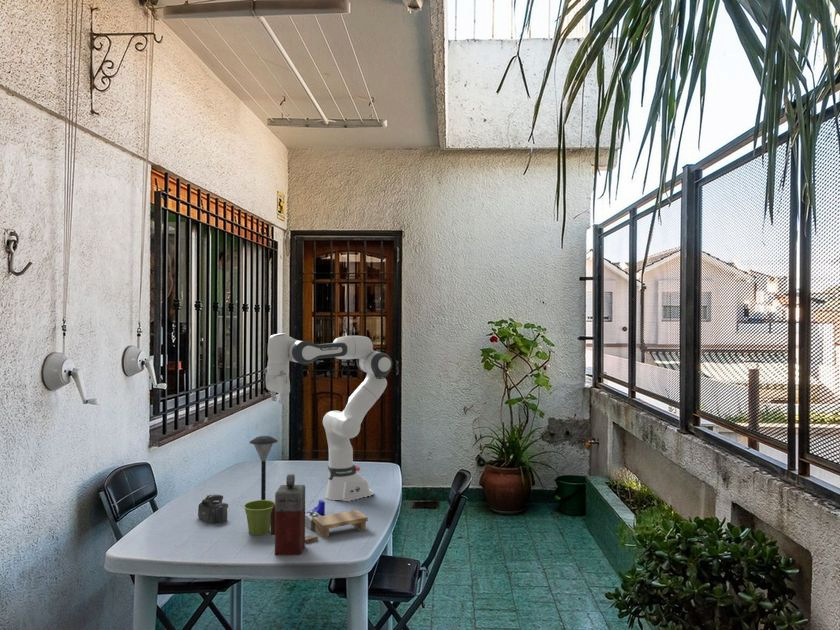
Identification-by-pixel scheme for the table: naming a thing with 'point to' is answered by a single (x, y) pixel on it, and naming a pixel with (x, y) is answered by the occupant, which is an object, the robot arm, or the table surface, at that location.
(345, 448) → the robot arm
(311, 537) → the tan wooden block
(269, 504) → the plant pot
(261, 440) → the solar garden light
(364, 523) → the stand
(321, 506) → the blue curved block
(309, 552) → the table surface
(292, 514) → the red grey canister
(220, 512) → the camera
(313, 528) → the housing
